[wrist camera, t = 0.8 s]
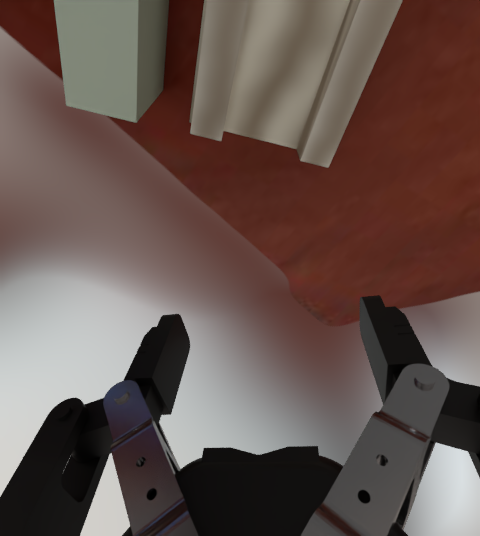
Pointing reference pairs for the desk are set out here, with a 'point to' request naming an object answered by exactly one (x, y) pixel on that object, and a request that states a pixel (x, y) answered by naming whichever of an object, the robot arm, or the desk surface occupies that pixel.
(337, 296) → the desk surface
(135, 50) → the rectangular block
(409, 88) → the desk surface
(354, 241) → the desk surface
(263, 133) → the rack
